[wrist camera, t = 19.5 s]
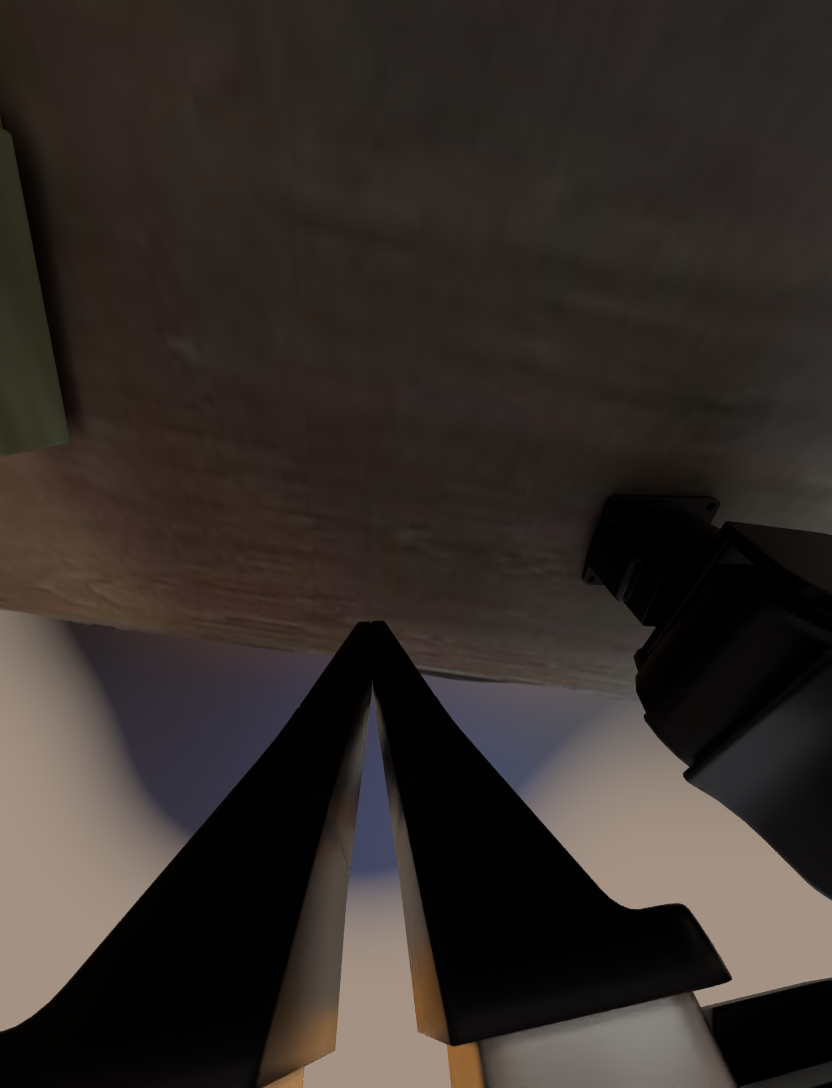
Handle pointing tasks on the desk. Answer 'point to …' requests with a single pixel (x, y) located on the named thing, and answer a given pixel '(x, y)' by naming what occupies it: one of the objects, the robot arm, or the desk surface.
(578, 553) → the desk surface
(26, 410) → the drawer
